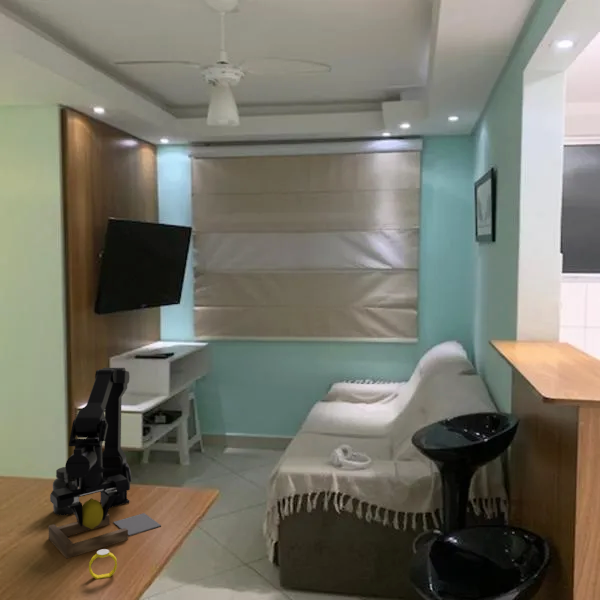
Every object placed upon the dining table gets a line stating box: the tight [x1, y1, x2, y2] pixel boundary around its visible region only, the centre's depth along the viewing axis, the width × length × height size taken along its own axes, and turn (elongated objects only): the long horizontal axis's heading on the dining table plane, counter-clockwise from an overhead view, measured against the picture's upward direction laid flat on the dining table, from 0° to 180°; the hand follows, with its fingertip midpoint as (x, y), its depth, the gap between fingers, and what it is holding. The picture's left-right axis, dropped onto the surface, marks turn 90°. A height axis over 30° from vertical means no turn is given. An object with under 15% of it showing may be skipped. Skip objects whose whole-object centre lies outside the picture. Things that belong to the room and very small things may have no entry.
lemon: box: [82, 497, 103, 530], centre depth 157 cm, size 6×6×8 cm
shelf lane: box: [47, 512, 129, 559], centre depth 156 cm, size 16×13×4 cm
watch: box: [88, 548, 118, 580], centre depth 138 cm, size 6×3×6 cm, turn 109°
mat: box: [113, 512, 162, 537], centre depth 165 cm, size 9×10×1 cm
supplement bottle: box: [52, 466, 79, 516], centre depth 173 cm, size 7×7×12 cm
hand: (91, 522), depth 157 cm, fingers closed on lemon, 5 cm apart
